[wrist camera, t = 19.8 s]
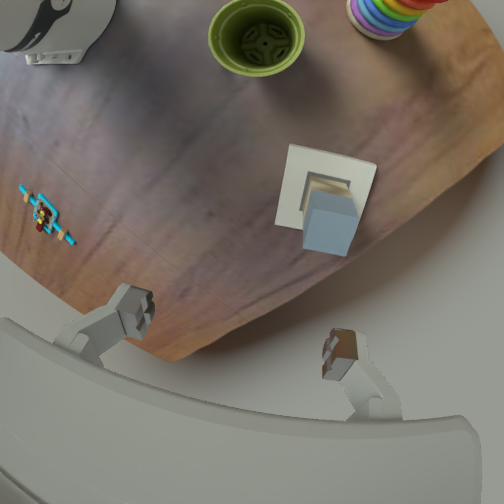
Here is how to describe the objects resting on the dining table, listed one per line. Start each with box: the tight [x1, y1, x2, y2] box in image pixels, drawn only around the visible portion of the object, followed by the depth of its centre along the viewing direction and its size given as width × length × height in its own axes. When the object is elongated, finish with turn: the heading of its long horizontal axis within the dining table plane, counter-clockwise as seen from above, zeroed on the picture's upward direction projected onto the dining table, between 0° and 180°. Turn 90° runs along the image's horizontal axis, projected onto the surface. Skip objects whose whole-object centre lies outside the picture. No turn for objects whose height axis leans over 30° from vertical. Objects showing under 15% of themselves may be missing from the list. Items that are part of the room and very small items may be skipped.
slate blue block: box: [303, 190, 359, 257], centre depth 31 cm, size 5×5×5 cm
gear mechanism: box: [19, 184, 75, 245], centre depth 47 cm, size 20×5×9 cm
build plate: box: [275, 143, 377, 240], centre depth 37 cm, size 12×12×1 cm
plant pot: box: [208, 0, 305, 77], centre depth 24 cm, size 9×9×9 cm
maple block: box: [303, 175, 352, 223], centre depth 35 cm, size 5×5×5 cm
